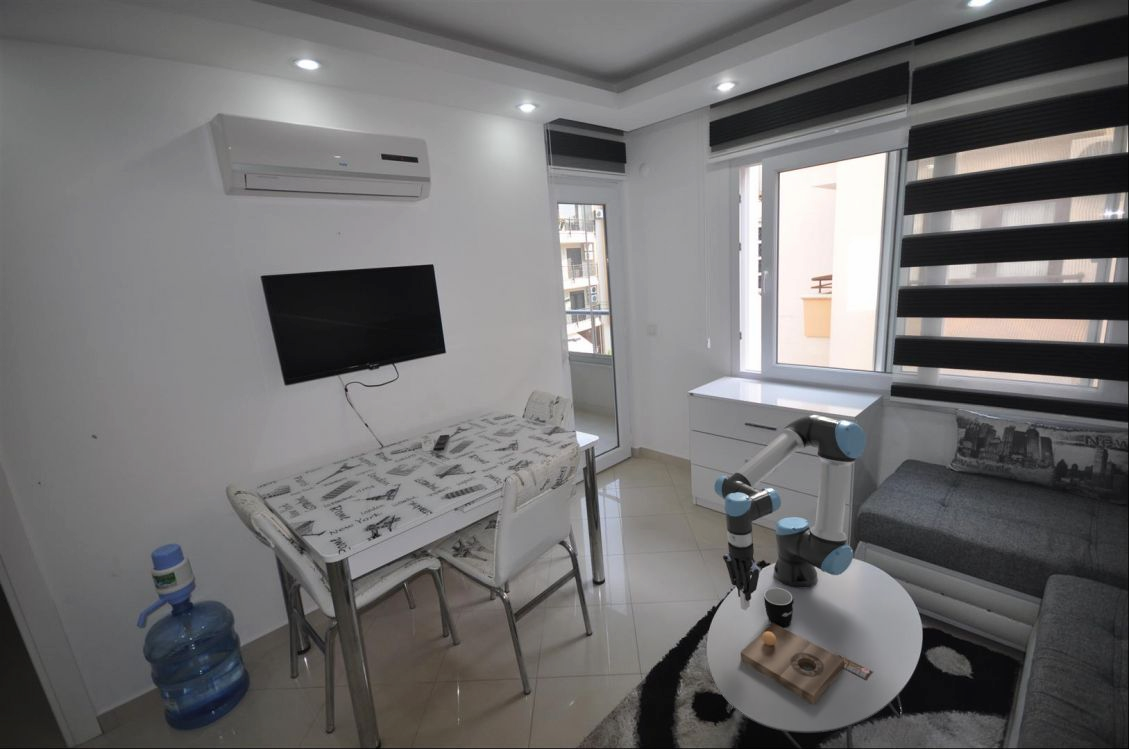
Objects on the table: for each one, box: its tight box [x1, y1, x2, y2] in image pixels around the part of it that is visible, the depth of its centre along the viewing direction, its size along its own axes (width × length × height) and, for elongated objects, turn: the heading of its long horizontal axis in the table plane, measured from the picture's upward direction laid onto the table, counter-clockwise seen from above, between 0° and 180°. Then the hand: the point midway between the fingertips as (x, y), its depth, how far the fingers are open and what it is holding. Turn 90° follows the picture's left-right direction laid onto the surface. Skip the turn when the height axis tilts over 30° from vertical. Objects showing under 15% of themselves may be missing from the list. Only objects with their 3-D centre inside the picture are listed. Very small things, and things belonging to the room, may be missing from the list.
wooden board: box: [740, 623, 845, 706], centre depth 152 cm, size 23×18×3 cm
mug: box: [763, 587, 795, 629], centre depth 169 cm, size 12×9×10 cm
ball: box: [762, 631, 776, 646], centre depth 157 cm, size 4×4×4 cm
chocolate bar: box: [838, 655, 874, 682], centre depth 148 cm, size 11×5×1 cm, turn 38°
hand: (745, 607), depth 161 cm, fingers closed
